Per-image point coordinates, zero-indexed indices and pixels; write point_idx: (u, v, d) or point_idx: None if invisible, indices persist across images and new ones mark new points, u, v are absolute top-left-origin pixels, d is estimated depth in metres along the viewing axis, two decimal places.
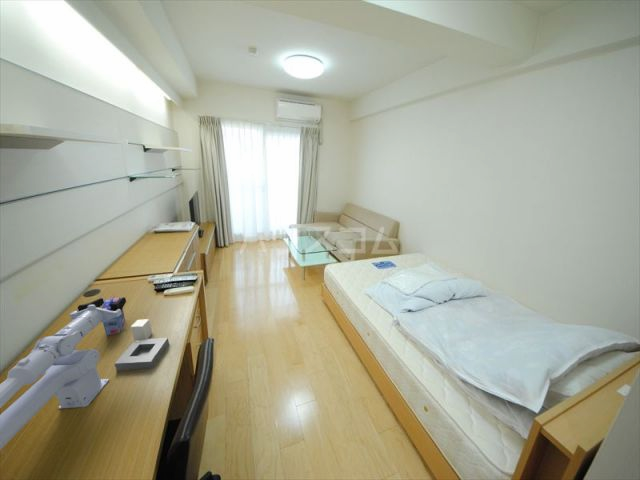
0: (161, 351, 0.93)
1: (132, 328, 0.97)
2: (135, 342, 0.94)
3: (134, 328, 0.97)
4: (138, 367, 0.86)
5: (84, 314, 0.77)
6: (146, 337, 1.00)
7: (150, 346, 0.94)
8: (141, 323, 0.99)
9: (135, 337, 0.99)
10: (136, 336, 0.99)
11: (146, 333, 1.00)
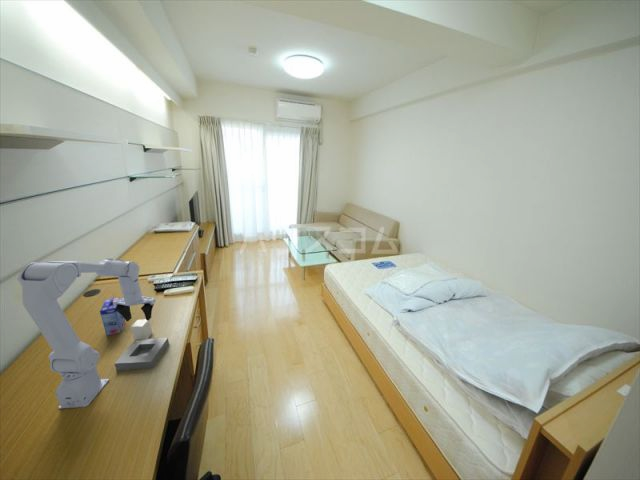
0: (161, 351, 0.93)
1: (132, 328, 0.97)
2: (135, 342, 0.94)
3: (134, 328, 0.97)
4: (138, 367, 0.86)
5: None
6: (146, 337, 1.00)
7: (150, 346, 0.94)
8: (141, 323, 0.99)
9: (135, 337, 0.99)
10: (136, 336, 0.99)
11: (146, 333, 1.00)
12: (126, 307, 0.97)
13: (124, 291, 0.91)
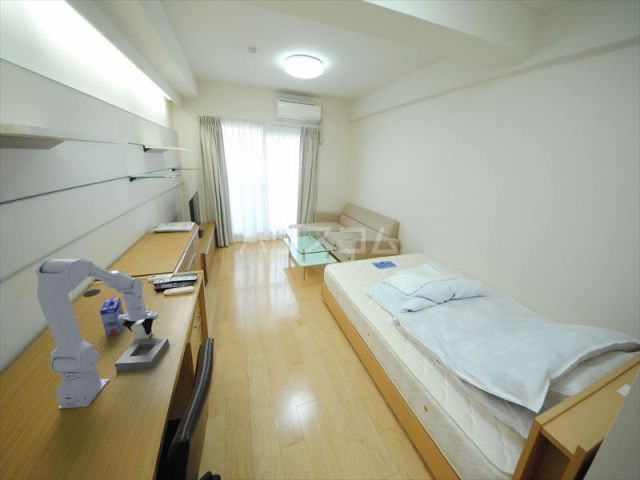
0: (161, 351, 0.93)
1: (132, 328, 0.97)
2: (135, 342, 0.94)
3: (134, 328, 0.97)
4: (138, 367, 0.86)
5: None
6: (146, 337, 1.00)
7: (150, 346, 0.94)
8: None
9: (135, 337, 0.99)
10: (136, 336, 0.99)
11: None
12: (133, 322, 0.99)
13: (128, 307, 0.94)
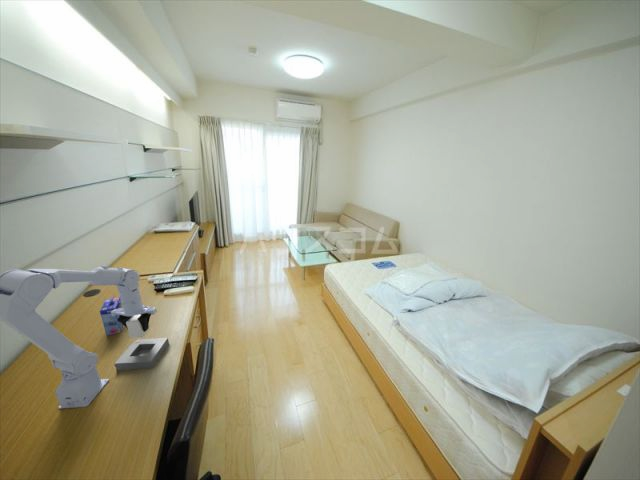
0: (161, 351, 0.93)
1: (127, 324, 0.89)
2: (135, 342, 0.94)
3: (129, 324, 0.89)
4: (138, 367, 0.86)
5: None
6: (143, 334, 0.92)
7: (150, 346, 0.94)
8: None
9: (131, 334, 0.91)
10: (132, 332, 0.91)
11: None
12: (129, 317, 0.91)
13: (122, 300, 0.86)
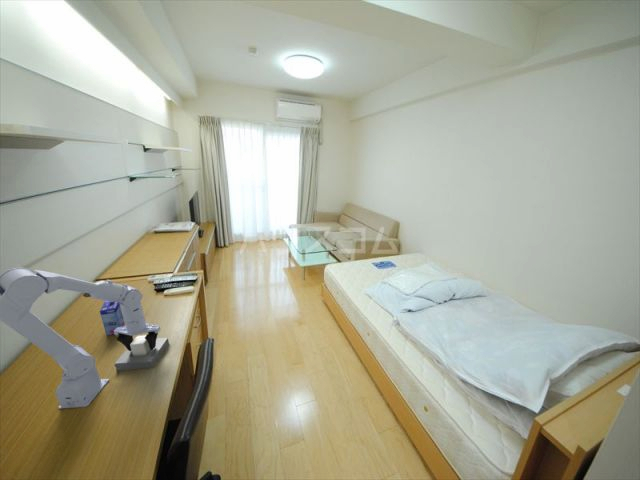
0: (161, 351, 0.93)
1: (131, 346, 0.87)
2: None
3: (133, 346, 0.88)
4: (138, 367, 0.86)
5: None
6: None
7: None
8: (142, 340, 0.89)
9: None
10: (136, 354, 0.89)
11: (147, 351, 0.90)
12: (128, 336, 0.89)
13: (124, 319, 0.84)
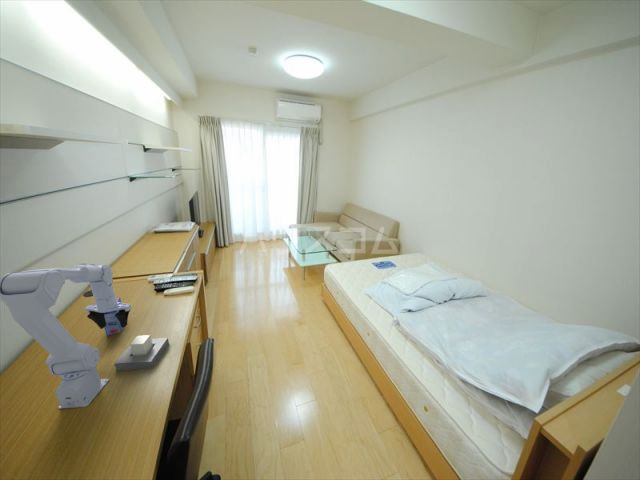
0: (161, 351, 0.93)
1: (131, 346, 0.87)
2: None
3: (133, 346, 0.88)
4: (138, 367, 0.86)
5: None
6: None
7: None
8: (142, 340, 0.89)
9: None
10: (136, 354, 0.89)
11: (147, 351, 0.90)
12: (100, 314, 0.91)
13: (98, 297, 0.86)
